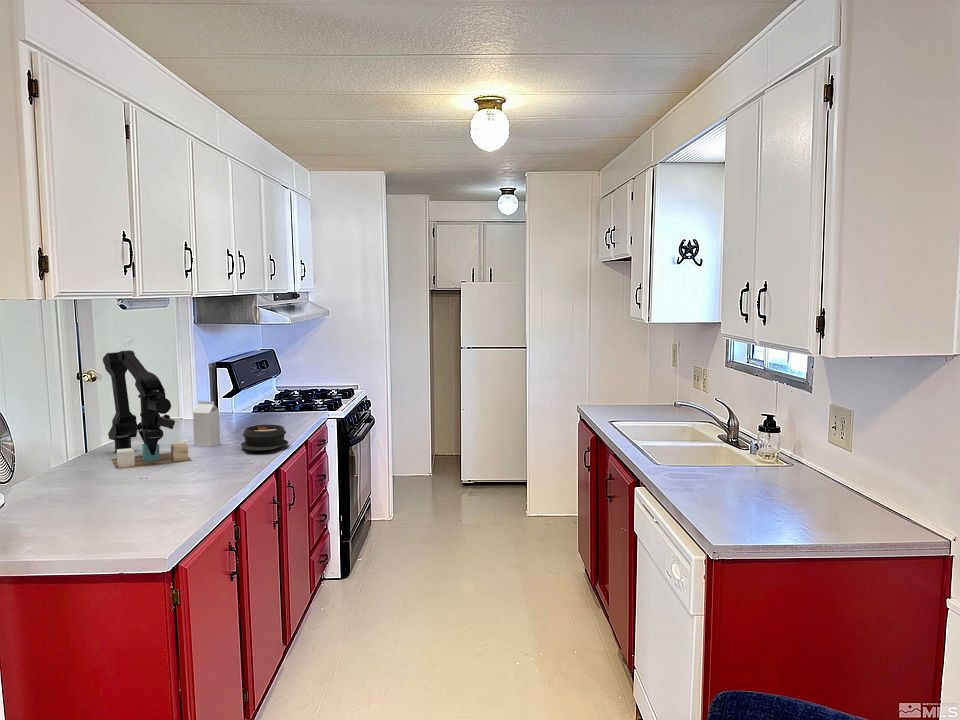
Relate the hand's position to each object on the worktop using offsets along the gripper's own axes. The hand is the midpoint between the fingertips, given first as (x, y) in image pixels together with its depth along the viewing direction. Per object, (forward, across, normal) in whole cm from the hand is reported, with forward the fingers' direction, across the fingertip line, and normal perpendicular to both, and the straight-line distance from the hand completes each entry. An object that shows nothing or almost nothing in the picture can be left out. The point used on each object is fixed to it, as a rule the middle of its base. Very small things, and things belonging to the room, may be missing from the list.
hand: (150, 452), depth 264 cm
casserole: (+4, +3, -43) cm, 43 cm away
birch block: (+3, -5, -9) cm, 11 cm away
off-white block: (+3, -5, +9) cm, 11 cm away
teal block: (+3, 0, 0) cm, 3 cm away
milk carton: (+4, +15, -23) cm, 28 cm away
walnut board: (+4, -1, 0) cm, 4 cm away
